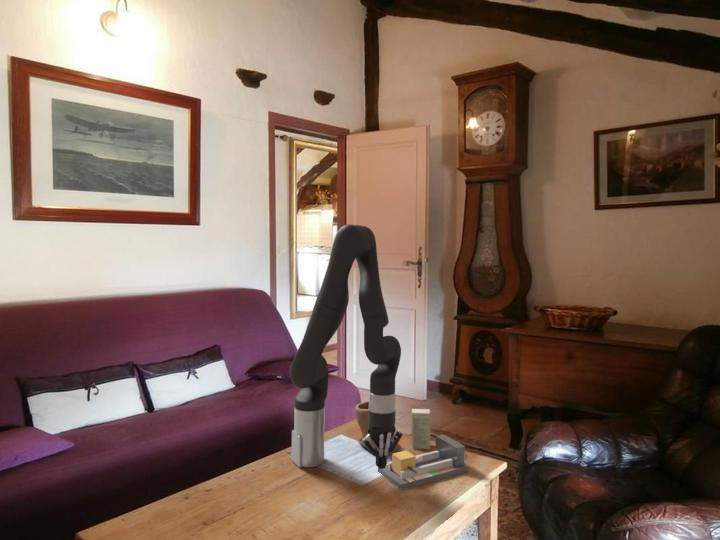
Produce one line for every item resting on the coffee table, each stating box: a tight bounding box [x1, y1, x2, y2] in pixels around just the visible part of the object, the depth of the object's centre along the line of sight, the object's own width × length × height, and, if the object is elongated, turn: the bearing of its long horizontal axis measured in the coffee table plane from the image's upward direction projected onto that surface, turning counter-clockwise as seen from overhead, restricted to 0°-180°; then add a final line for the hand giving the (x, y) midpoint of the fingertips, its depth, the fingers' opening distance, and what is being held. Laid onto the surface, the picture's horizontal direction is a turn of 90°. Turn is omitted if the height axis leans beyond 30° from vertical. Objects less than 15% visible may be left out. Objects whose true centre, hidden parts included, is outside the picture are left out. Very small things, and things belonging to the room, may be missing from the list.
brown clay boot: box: [354, 400, 403, 455], centre depth 171 cm, size 15×12×15 cm
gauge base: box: [377, 450, 469, 491], centre depth 155 cm, size 24×12×4 cm, turn 119°
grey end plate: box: [435, 434, 466, 468], centre depth 159 cm, size 3×10×6 cm, turn 29°
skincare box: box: [411, 408, 431, 450], centre depth 172 cm, size 6×4×12 cm
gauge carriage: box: [391, 449, 424, 475], centre depth 150 cm, size 9×9×5 cm
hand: (381, 467), depth 147 cm, fingers closed
